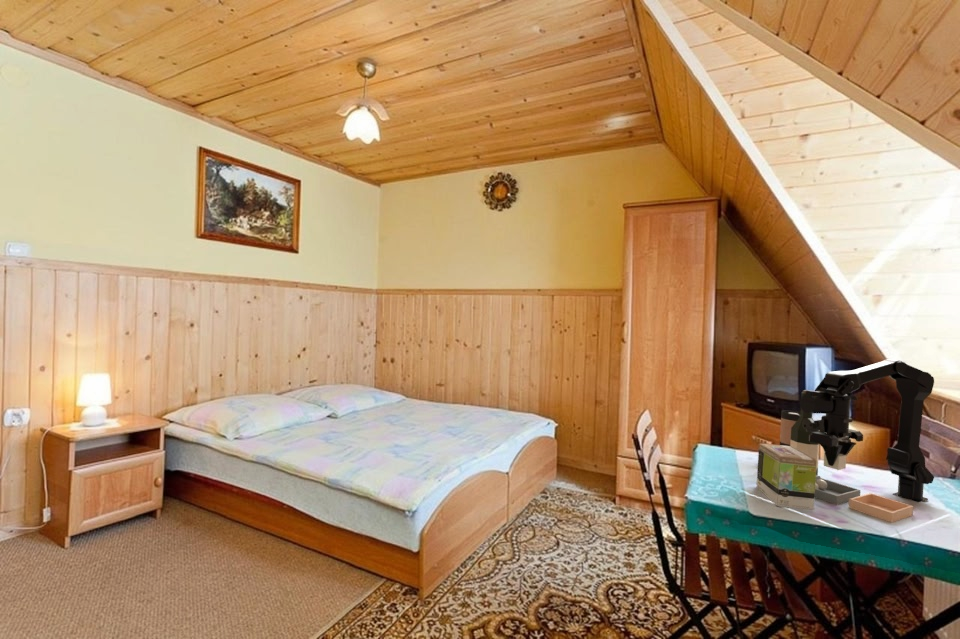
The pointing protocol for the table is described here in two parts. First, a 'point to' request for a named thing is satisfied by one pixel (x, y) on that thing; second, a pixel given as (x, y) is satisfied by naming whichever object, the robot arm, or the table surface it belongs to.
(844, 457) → the beige cube
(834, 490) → the bin
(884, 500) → the bin
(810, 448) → the wine bottle
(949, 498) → the table surface
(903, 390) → the robot arm
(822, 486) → the cream glossy ball
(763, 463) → the tea box
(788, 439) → the travel mug
